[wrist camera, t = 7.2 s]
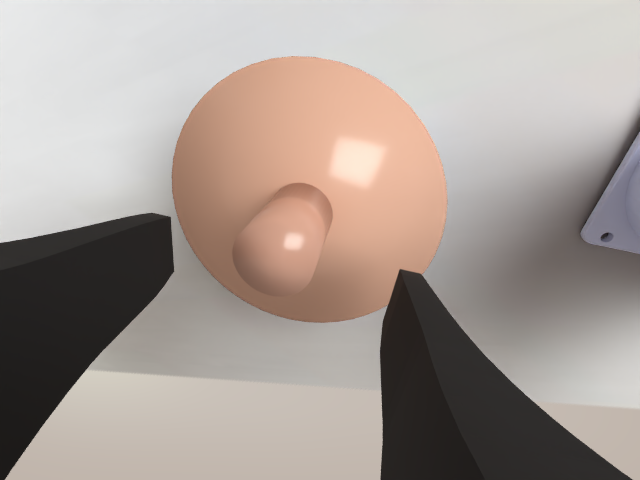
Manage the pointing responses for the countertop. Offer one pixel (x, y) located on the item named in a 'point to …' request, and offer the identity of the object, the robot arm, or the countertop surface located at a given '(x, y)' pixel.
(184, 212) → the lid
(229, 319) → the countertop surface
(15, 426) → the robot arm
